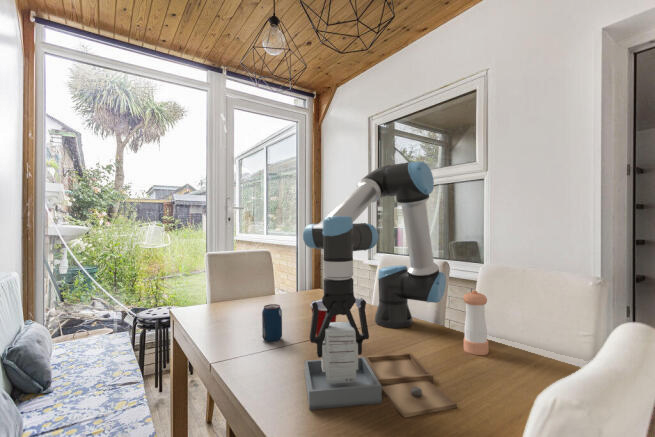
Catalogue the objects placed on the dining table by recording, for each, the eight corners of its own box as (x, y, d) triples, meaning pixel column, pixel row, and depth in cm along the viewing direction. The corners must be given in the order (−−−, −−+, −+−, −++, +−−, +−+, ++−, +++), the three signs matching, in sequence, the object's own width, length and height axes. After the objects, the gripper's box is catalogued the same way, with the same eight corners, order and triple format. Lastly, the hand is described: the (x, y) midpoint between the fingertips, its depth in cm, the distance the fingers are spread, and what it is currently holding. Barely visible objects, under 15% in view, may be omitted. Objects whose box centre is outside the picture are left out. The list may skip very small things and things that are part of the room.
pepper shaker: (487, 347, 107) (485, 289, 107) (490, 356, 100) (488, 293, 100) (462, 345, 109) (461, 287, 110) (464, 353, 102) (463, 292, 103)
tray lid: (426, 382, 84) (426, 374, 84) (456, 407, 73) (456, 398, 73) (380, 390, 81) (380, 381, 81) (404, 417, 69) (404, 408, 69)
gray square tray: (364, 371, 91) (363, 356, 91) (381, 403, 75) (381, 385, 75) (304, 375, 89) (304, 360, 89) (309, 409, 73) (309, 391, 73)
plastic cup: (337, 344, 112) (337, 308, 112) (307, 342, 114) (306, 307, 114) (342, 333, 123) (342, 301, 123) (314, 331, 125) (314, 300, 125)
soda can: (285, 338, 119) (285, 304, 119) (275, 344, 112) (274, 309, 112) (269, 335, 121) (269, 303, 122) (258, 341, 115) (258, 307, 115)
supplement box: (324, 370, 86) (323, 321, 86) (352, 369, 86) (351, 320, 86) (326, 384, 78) (325, 331, 78) (356, 382, 79) (356, 330, 79)
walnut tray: (411, 359, 99) (411, 353, 99) (433, 382, 84) (433, 375, 85) (364, 362, 97) (364, 356, 97) (378, 386, 83) (378, 379, 83)
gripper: (373, 273, 88) (374, 359, 87) (297, 276, 85) (298, 364, 85) (381, 278, 80) (383, 372, 80) (298, 281, 77) (299, 378, 77)
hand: (339, 368), depth 82 cm, fingers closed on supplement box, 7 cm apart
